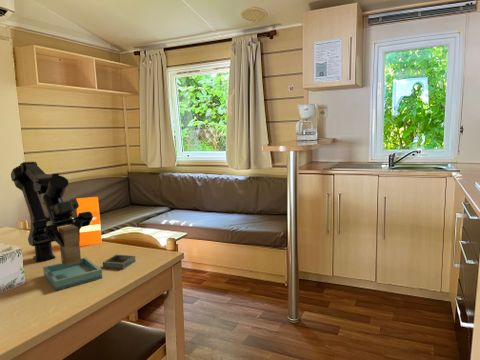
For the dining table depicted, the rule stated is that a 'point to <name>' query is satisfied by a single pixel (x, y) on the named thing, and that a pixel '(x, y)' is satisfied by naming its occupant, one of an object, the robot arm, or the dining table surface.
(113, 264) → the grey square bin
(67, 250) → the plate
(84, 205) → the orange juice
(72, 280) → the tray
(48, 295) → the dining table surface
